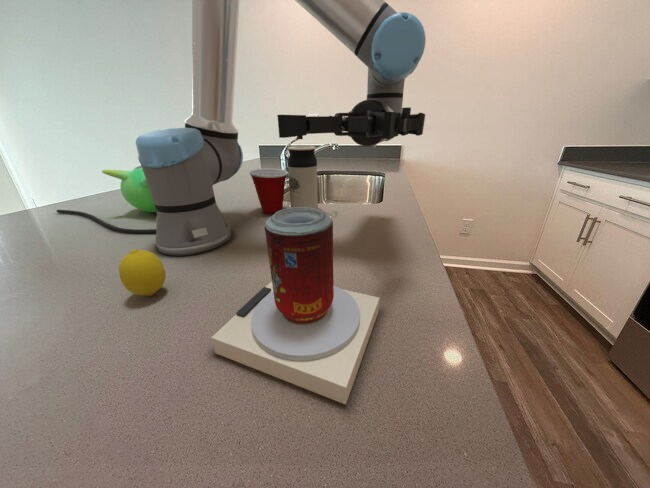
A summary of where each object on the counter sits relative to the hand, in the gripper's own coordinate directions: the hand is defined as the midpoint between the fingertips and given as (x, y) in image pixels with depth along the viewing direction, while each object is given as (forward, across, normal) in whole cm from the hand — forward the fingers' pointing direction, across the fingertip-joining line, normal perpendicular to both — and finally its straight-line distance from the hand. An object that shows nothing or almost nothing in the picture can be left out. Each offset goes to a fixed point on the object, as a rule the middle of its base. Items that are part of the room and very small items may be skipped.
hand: (329, 126), depth 31 cm
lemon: (+12, +26, -24) cm, 37 cm away
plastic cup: (-31, +31, -24) cm, 50 cm away
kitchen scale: (+10, 0, -24) cm, 25 cm away
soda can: (+9, 0, -20) cm, 23 cm away
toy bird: (-19, +65, -24) cm, 72 cm away
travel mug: (-34, +22, -24) cm, 47 cm away
